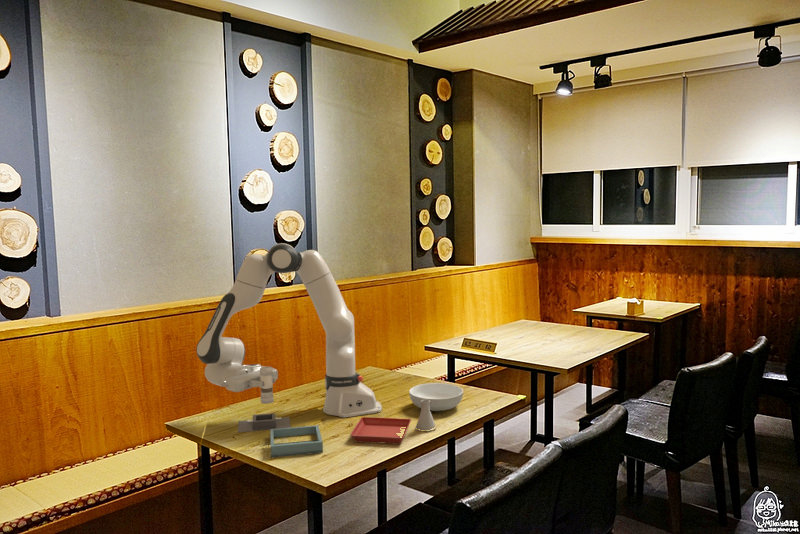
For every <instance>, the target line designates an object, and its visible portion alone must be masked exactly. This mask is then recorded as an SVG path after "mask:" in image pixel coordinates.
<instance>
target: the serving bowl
mask: <svg viewBox="0 0 800 534" xmlns="http://www.w3.org/2000/svg"><path fill="white" fill-rule="evenodd" d="M408 393H409V398H410V400H411V402H412V403H413V404H414V405H415V406H416V407H418V408H420V409H421V408H422V403H421V400H430V403H429V406H430V410H431V411H430V412H442V410H443V411H447V410H451V409H454V408H455V407H457V406H459V404H460V403H461V401H462V399H463V397H464V389H463V388H462V387H461V386H458V385H455V384H451V383H443V382H428V383H422V384H417V385H414V386H413V387H411V388H410V389H409V391H408Z"/></svg>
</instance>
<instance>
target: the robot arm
mask: <svg viewBox="0 0 800 534" xmlns="http://www.w3.org/2000/svg"><path fill="white" fill-rule="evenodd" d="M294 272H296V274H297V275H298V276H299V278H300V279H301V281H302V284H303V285H304V288H305V290H306V292H307V294H308V296H309V298H310V299H311V302H312V303H313V306H314V309H315V311H316V314H317V315H318V318H319V321H320V323H321V325H322V327H323V330H324V332H325V367H326V373H325V375H324V376H325V378H324V386H325V400H324V405H323V408H322V413H325V414H327V415H330V416H335V417H336V416H337V417H340V418H350V417H351V418H352V417H356V416H364V415H371V414H376V413H377V412H378V413H380V411H381V412H382V410H383V408H382V407H383V406H382V404H381V402H380V401H378V400H377V399H376V396H375V392H374V391H373V390H372V389H371V388H370V387H368V386H367V385H365V384H364V383H362V382H363V381H364V377H363V376H362V375H361V374H360V373H359V372H356V343H355V340H356V338H355V334H356V333H355V318H354V317H355V316H354V314H353V313H352V311H350V310H349V309H348V306H347V304H346V302H345V299H344V297H343V295H342V293H341V290H340V288H339V286H338V283H336V280H335V278H334V276H333V274H332V272H331V270H330V268H329V266H328V265H327V263H326V261H325V259H324V258H323V257H322V255H321V254H320V253H319V252H318V251H317V250H315V249H309V250H304V251H302V252H299V251H298V250H296V249H295V248H294V247H293V246H292V245H290V244H288V243H282V242H281V243H277V244H275V245H273V246H272V247H270V249H269V250H268V251H267V253H266V254H264V255H262V254H255V253H252V254H249V255H247V256H246V257H245V259H244V260H243V262H242V264H241V266H240V268H239V271H238V273H237V275H236V278H235V281H234V284H233V285H232V287H231V288H230V290H229V292H228V293H226V294H225V295H224V296H223V297H222V298H221V299H220V301H219V303H218V305H217V307H216V309H215V311H214V313H213V315H212V317H211V319H210V321H209V323H208V326H207V328H206V330H205V331H204V334H203V335H202V336H201V338H200V339H199V341H198V342H197V345H196V350H195V351H196V355H197V357H198V359H199V360H200V361H201V363H203V364H206V366H205V367H204V376H205V378H206V381H208V382H210V383H211V384H213V385H216V386H219V387H224V388H226V390H227V391H230V392H233V393H239V392H243V391H246V390H249V389H252V388H261V387H263V386H264V381H261V378H260V368H261V367H266V366H265V365H264V366H263V365H261V363H259V364H258V363H254V364H244V363H243V362H244V361H245V360H244V359H245V356H246V347H245V344H244V342H243V341H242V340H241V338H237V337H228V336H223V334H224V332H225V330H226V327H227V326H228V324H229V321H230V319H231V318H232V316H233V315H235V314H237V313H238V312H240V311H243V310H246V309H250V308H253V307H255V306H256V305H257V304H259V303H260V302H261V300H262V298H263V296H264V294H265V290H266V287H267V284H268V281H269V278H270V276H271V275H273V274H274V273H276V274H277V273H278V274H287V273H288V274H289V273H294ZM272 369H273V374H272V384H275V383H276V380H278V379H279V378H278V377H279V372H278V370H277V369H276V368H274V367H272ZM378 413H377V414H378Z"/></svg>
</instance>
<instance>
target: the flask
mask: <svg viewBox="0 0 800 534" xmlns="http://www.w3.org/2000/svg"><path fill="white" fill-rule="evenodd" d="M421 403H422V408H420V413H419V417H418V420H417V422H416V425H415V428H417V429H420V430H430V429H432V428H434V427H435V425H436V423H435V420H434V417H433V415H432V411H430V406H429V403H430V400H421Z"/></svg>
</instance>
